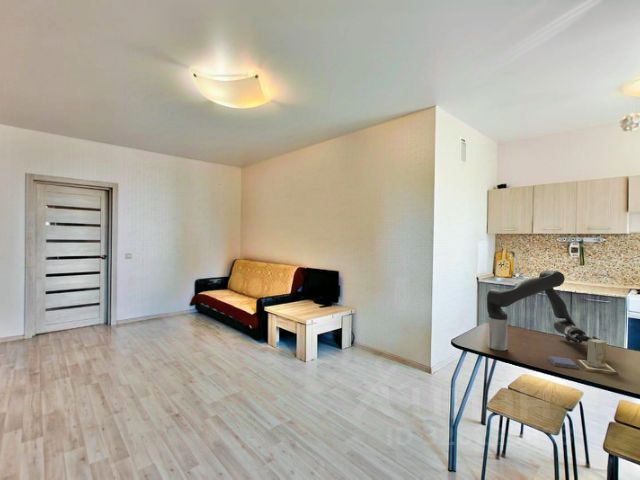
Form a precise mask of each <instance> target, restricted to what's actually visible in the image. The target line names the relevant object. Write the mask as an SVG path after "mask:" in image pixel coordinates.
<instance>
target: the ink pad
mask: <svg viewBox="0 0 640 480" xmlns="http://www.w3.org/2000/svg"><path fill="white" fill-rule="evenodd" d="M547 360H548V361H549V362H550V363H551V365H552V366H553V367H561V368H568V369H577V370H580V366H579V365H577V363H576V362H574V361H573V360H572V359H571V358H567V357H559V356H551V355H550V356H547Z"/></svg>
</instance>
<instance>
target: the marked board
mask: <svg viewBox="0 0 640 480" xmlns="http://www.w3.org/2000/svg"><path fill="white" fill-rule="evenodd" d="M575 361H576V362H575V363H576V364H579V365H580V367H581V368H583V370H585V371H586V372H593V373H600V374H605V375H606V374H607V375H615V376H619V372H618V371H617V370H616V369H614V368H613V367H612V366H610V365H609V364H608V363H607V362H606V365H605V367H599V368H596V367H593V366H591V365H588V364H587V360H584V359H577V358H576V359H575Z"/></svg>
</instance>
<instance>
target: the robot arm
mask: <svg viewBox="0 0 640 480" xmlns="http://www.w3.org/2000/svg"><path fill="white" fill-rule="evenodd" d="M565 279H566V278H565V275H564V274H563V273H562V272H560V271H557V270H542V271H540V273H539V275H538V277H534V278H528V279H527V278H526V279H524V280H522V281H519V282H518V283H516V284H515V286H514V288H512V289H510V290H501V289H497V288H492V289H490V290H489V291H488V292H487V295H486V306H487V307H486V309H487V313H488V329H487V346H488V349H492V350H493V351H494V350H495V351H501V352H502V351H506V350H508V314H507V313H506V312H505V311H504V310H503V309H502V308H506V307H510V306H512V305H514V304H515V303H517V302H518V301H521V300H523V299H525V298H528V297H531V296H534V295H536V294H539V293H542V292H544V293H545V295H546V296H547V298H548V301H549V303H550V305H551V308H552V312H553V315H554V317H555V318H557V319H562V320H555V322H554V323H553V329H555V331H556V332H557V333H559V334H561V335H563V338H564V340H566V341H567V342H572V343H574V344H576V345H578V344H581V343H586V344H588V340H594V339H598V340H601V339H600V338H598V337H597V336H593V335H592V336H589V335H587V334H586V332H585V331H583V330H582V329H581V328H579V327H578V326H577V325H576V324H575V322H574V321H573V319H572V318H571V316H570V314H569V312H568V308H567V305H566V303H565V301H564V300H563V299H562V298H561V296H560V295H559V294H558V293H557V291H556V290H555V288H557V287H560V286H562V285H563V284H564V282H565Z"/></svg>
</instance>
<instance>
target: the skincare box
mask: <svg viewBox="0 0 640 480" xmlns="http://www.w3.org/2000/svg"><path fill="white" fill-rule="evenodd" d="M598 339H599V338H598ZM598 339H594V340H588V343H587V357H586V358H587V360H586V361H587V364H588V365H591V366H593V367H596V368H599V367H605V365H606V363H607V362H606V361H607V359H606V357H607V341H605V340H602V339H600V340H598Z"/></svg>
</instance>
